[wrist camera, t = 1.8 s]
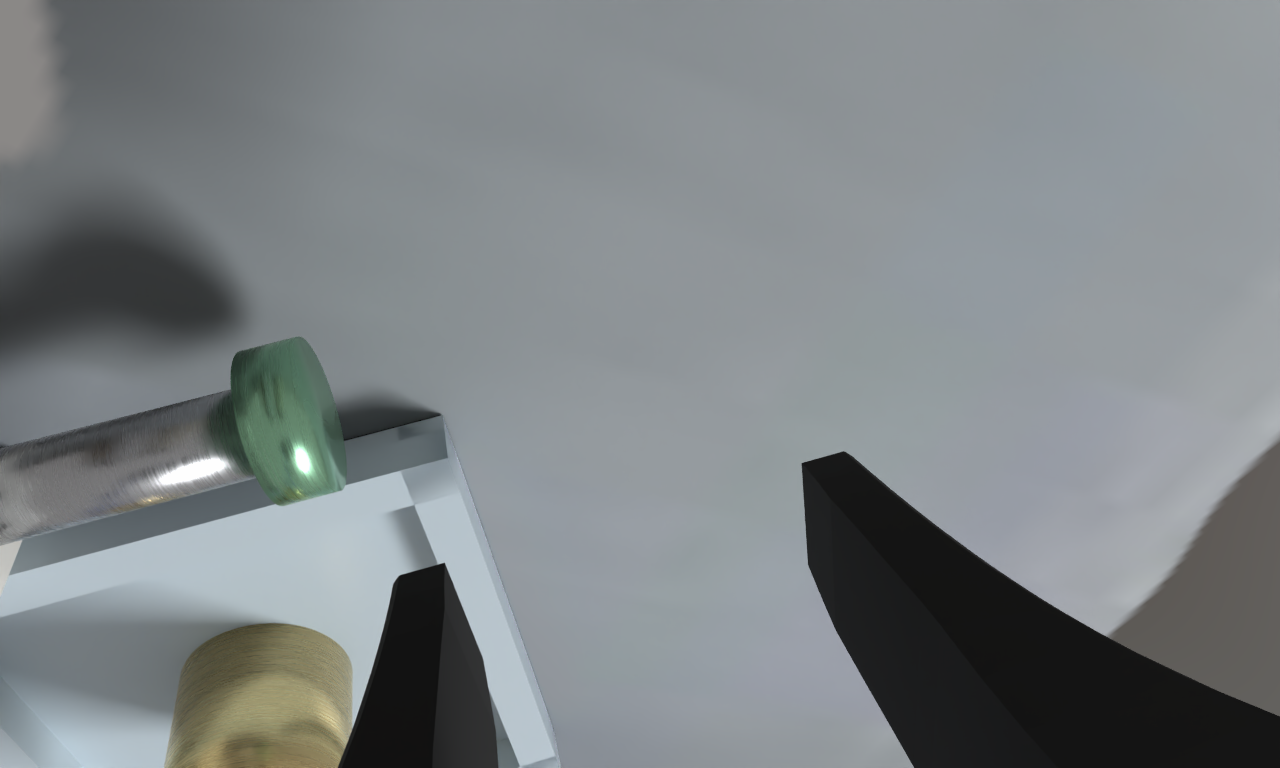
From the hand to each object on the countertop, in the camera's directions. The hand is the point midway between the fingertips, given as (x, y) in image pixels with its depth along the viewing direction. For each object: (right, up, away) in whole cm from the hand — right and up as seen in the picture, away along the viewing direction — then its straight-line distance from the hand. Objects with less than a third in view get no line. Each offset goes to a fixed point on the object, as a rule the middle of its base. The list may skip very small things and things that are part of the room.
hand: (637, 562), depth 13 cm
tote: (-9, -5, +11) cm, 15 cm away
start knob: (-9, +2, +5) cm, 11 cm away
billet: (-9, -5, +11) cm, 15 cm away
